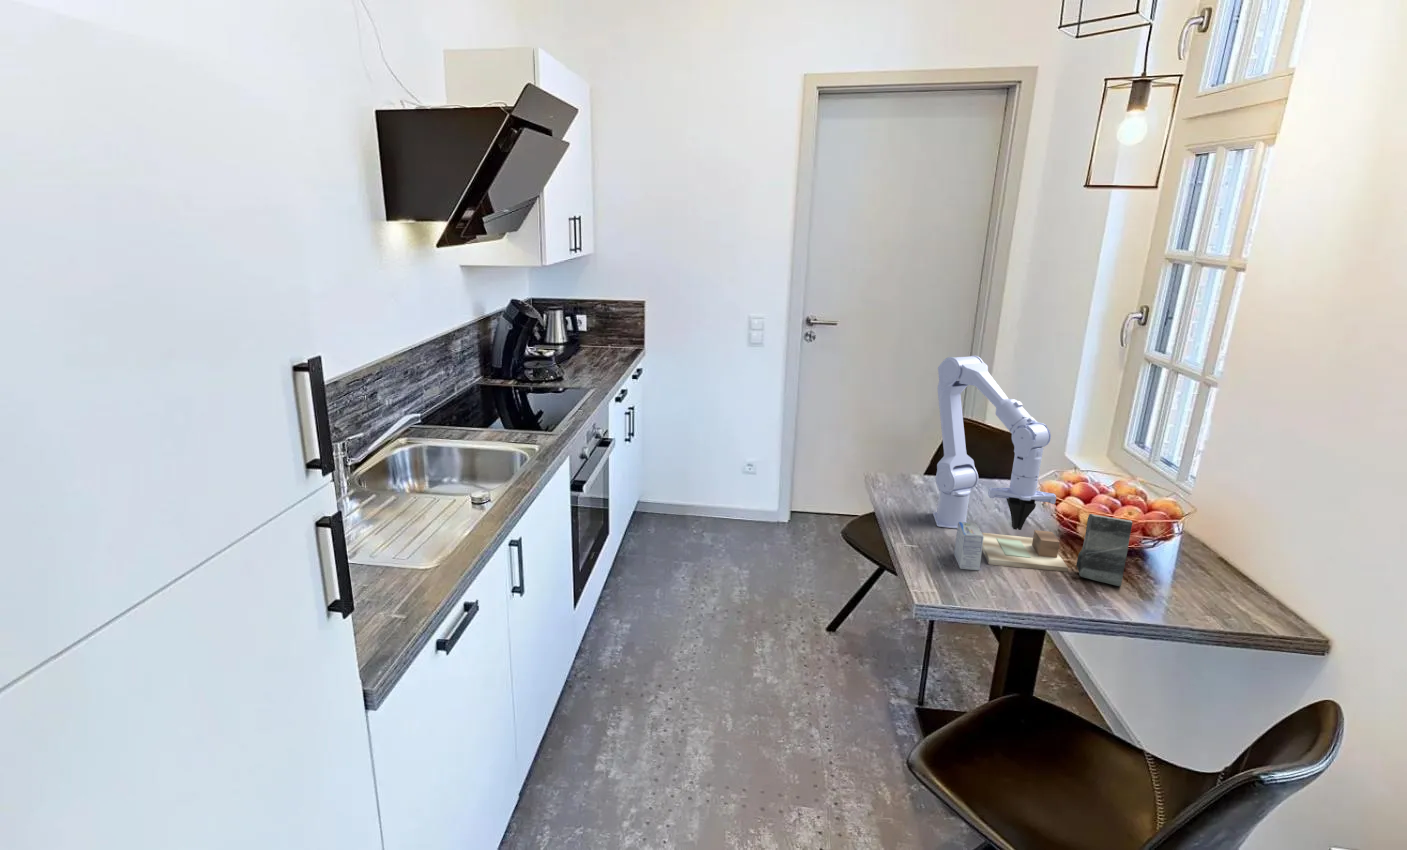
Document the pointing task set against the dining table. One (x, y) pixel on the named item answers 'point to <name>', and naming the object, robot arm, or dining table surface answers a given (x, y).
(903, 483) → the dining table surface
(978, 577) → the dining table surface
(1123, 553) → the stone block
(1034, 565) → the base board
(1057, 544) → the walnut block
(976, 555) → the medicine box
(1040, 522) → the dining table surface
